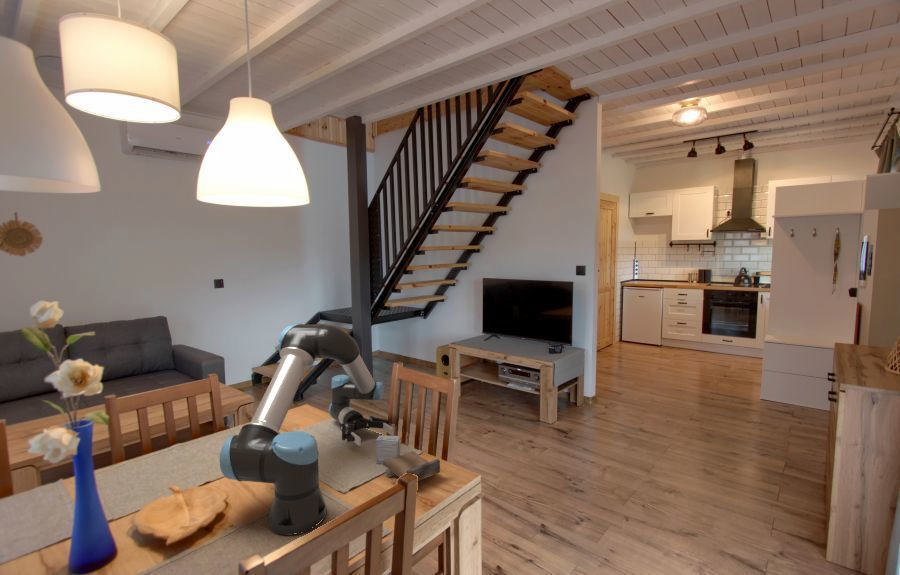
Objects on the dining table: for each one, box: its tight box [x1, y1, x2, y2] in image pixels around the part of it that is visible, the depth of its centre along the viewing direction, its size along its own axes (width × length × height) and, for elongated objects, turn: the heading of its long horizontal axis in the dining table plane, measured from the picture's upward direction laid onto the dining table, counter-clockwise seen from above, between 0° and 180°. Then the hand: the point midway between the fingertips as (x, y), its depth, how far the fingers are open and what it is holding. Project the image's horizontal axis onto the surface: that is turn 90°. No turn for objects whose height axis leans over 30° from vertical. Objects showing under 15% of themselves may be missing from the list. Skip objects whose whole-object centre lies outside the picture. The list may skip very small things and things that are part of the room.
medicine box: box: [375, 435, 402, 465], centre depth 150 cm, size 8×4×9 cm, turn 84°
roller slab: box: [382, 451, 441, 482], centre depth 141 cm, size 13×16×6 cm
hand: (376, 436), depth 157 cm, fingers open, 13 cm apart
